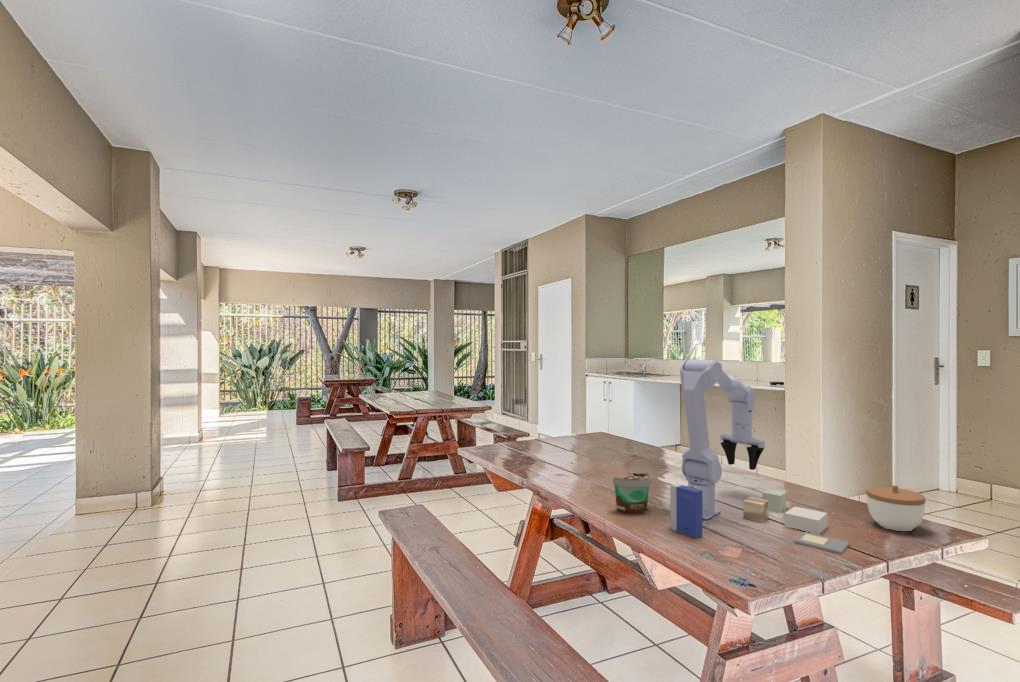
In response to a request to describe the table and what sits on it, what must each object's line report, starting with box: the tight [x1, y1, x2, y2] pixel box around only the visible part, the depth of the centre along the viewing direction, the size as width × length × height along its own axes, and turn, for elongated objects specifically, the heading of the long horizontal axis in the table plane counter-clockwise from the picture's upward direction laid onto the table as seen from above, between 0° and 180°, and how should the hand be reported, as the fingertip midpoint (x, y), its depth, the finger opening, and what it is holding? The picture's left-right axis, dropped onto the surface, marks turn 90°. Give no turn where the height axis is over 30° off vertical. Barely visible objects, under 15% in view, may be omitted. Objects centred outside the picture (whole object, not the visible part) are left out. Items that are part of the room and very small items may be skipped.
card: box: [793, 531, 850, 555], centre depth 127 cm, size 8×10×1 cm
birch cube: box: [743, 496, 770, 524], centre depth 146 cm, size 5×5×5 cm
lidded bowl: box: [865, 484, 926, 532], centre depth 138 cm, size 13×13×11 cm
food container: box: [612, 472, 653, 515], centre depth 152 cm, size 12×6×10 cm, turn 114°
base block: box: [784, 506, 828, 535], centre depth 139 cm, size 8×8×4 cm
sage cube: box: [761, 488, 787, 513], centre depth 153 cm, size 5×5×5 cm
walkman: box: [669, 483, 703, 539], centre depth 135 cm, size 8×3×12 cm, turn 35°
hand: (741, 466), depth 165 cm, fingers open, 7 cm apart
